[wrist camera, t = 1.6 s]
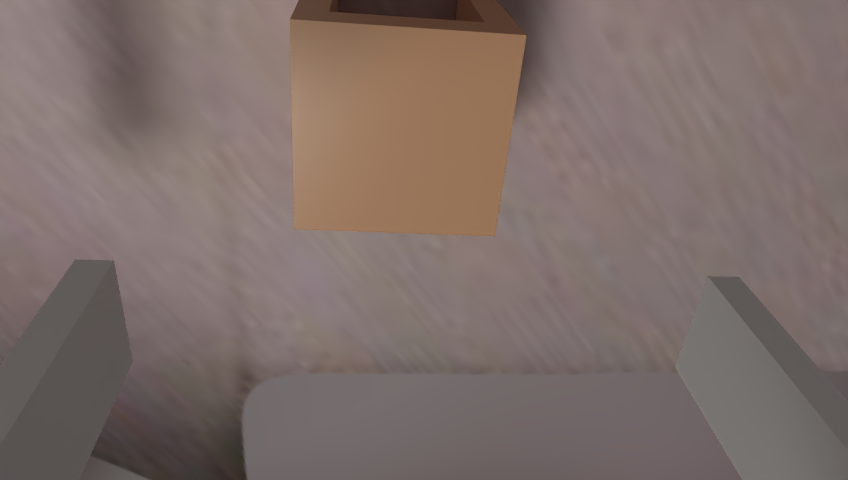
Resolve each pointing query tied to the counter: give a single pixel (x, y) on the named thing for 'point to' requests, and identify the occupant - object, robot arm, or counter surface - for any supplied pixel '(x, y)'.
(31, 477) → the robot arm
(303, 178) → the tan square cardboard-colored block
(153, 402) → the counter surface
